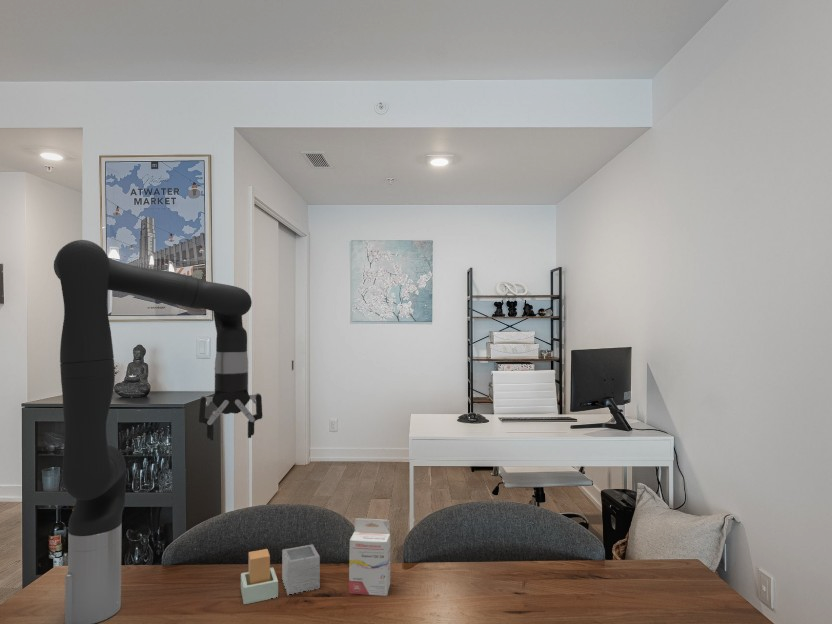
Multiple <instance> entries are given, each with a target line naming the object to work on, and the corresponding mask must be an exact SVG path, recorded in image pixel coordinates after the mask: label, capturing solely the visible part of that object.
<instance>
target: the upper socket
mask: <svg viewBox="0 0 832 624" xmlns="http://www.w3.org/2000/svg"><path fill="white" fill-rule="evenodd" d="M281 557H282V560H281V561H282V562H281V563H282V564H281V566H282V567H281V570H282V571H281V576H282V577H281V579H282V580H283V581H282V580H281V581H282V583H284V584H283V586H285V587H284V589H286V590H285V593H286V595H287V596H290V595H289V594H292V595H295V594H294V593H296V594H299V593H298V592H301V593H304V592H303V591H306V592H310V590H311V591H315V590H314V589H316V590H320V589H319V588H321V585H320V584H321V578H320V576H321V572H320V567H321V565H320V564H321V562H320V559H321V558H320V554H319V553H318V551H317V550H316V548H315V546H314V544H313V543H312V544H308V545H307V544H306V545H303V546H301V545H300V546H296V547H290V548H283V549H282V550H281ZM308 590H309V591H308Z"/></svg>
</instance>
